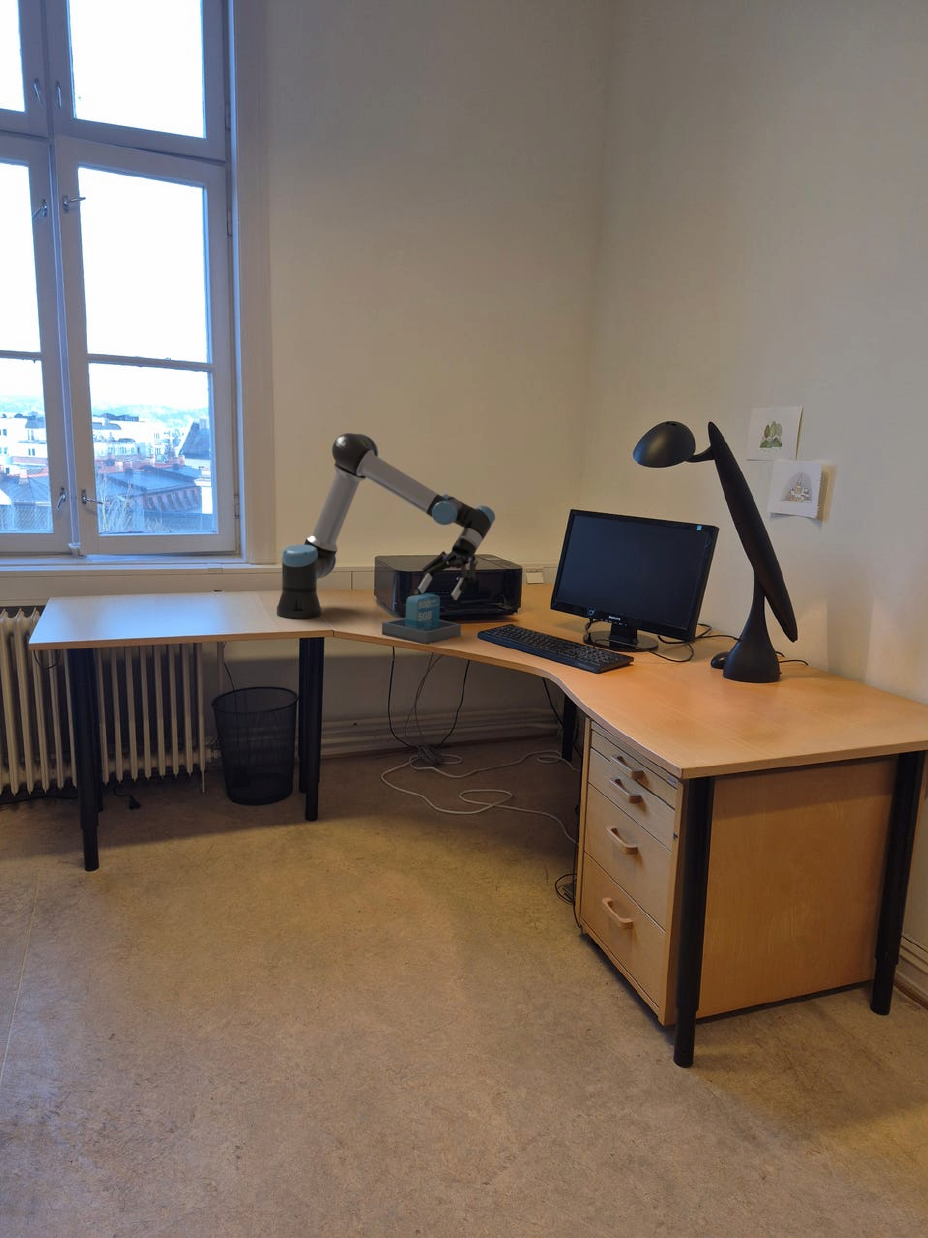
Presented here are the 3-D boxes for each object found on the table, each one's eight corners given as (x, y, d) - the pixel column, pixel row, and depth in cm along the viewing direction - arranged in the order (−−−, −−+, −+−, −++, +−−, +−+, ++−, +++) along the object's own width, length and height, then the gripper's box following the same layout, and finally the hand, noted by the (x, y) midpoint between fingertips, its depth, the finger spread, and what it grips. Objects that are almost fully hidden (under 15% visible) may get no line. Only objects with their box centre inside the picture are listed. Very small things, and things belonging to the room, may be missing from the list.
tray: (381, 634, 242) (382, 622, 241) (417, 626, 256) (417, 615, 255) (426, 644, 232) (426, 632, 231) (460, 635, 246) (461, 624, 245)
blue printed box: (415, 636, 238) (417, 599, 235) (404, 633, 240) (406, 596, 238) (438, 630, 248) (440, 594, 245) (427, 628, 250) (429, 592, 248)
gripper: (501, 557, 250) (472, 607, 241) (441, 547, 264) (411, 595, 255) (493, 542, 245) (463, 592, 236) (433, 533, 259) (402, 581, 250)
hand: (436, 594), depth 246 cm, fingers open, 13 cm apart
